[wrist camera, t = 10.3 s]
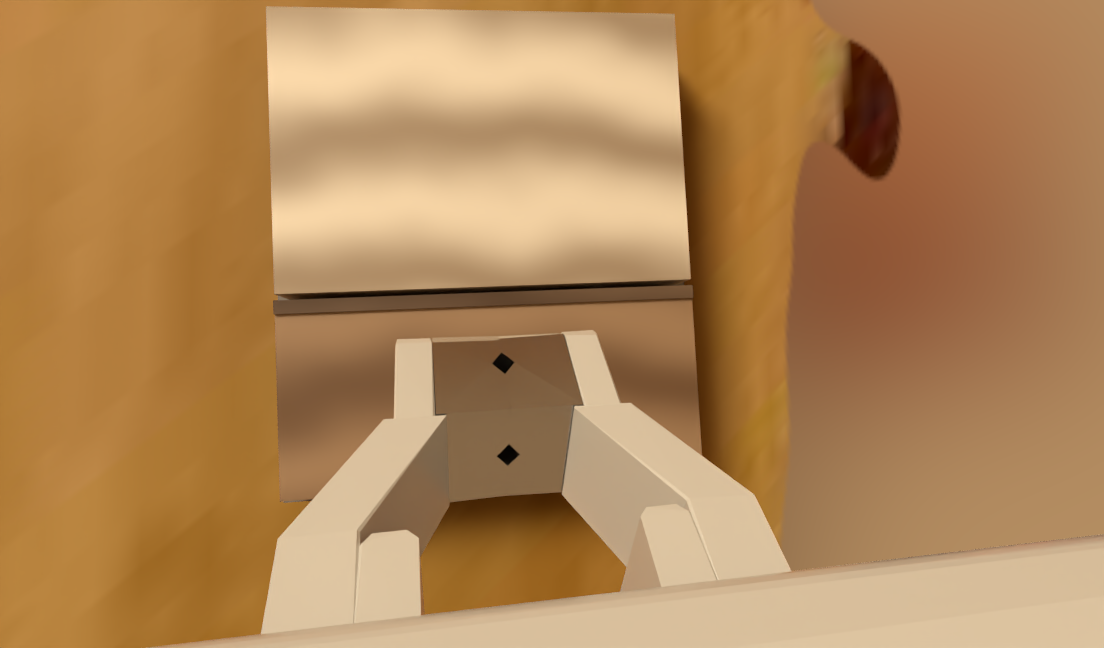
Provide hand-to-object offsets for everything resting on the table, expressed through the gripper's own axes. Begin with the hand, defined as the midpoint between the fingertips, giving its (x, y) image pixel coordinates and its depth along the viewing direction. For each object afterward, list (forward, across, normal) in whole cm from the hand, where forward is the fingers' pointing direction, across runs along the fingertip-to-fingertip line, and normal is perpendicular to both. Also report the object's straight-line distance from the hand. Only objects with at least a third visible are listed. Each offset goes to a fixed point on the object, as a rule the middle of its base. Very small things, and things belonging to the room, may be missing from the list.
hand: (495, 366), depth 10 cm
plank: (+24, -2, +8) cm, 25 cm away
